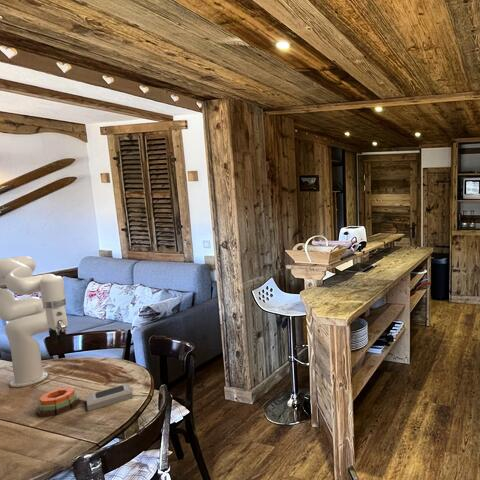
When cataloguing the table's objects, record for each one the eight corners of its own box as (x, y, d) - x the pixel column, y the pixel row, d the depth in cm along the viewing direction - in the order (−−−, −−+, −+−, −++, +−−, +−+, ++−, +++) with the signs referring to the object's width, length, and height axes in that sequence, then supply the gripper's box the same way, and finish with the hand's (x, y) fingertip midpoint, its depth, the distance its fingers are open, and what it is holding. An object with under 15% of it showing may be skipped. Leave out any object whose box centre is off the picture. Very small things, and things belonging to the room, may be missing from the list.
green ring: (35, 404, 148) (35, 400, 148) (70, 392, 158) (70, 388, 157) (44, 413, 142) (43, 409, 142) (80, 400, 152) (79, 396, 152)
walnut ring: (34, 410, 148) (33, 405, 148) (72, 396, 158) (71, 391, 158) (43, 419, 142) (43, 414, 142) (82, 404, 152) (82, 400, 152)
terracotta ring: (37, 400, 148) (36, 395, 148) (69, 389, 157) (68, 385, 156) (45, 408, 143) (44, 403, 142) (77, 396, 151) (77, 392, 151)
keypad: (85, 393, 154) (128, 381, 165) (86, 401, 155) (129, 389, 165) (86, 403, 147) (131, 390, 158) (87, 411, 148) (132, 397, 158)
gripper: (72, 305, 157) (76, 341, 159) (58, 298, 166) (62, 333, 168) (49, 309, 151) (53, 347, 153) (36, 302, 159) (40, 338, 162)
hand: (58, 339), depth 160 cm, fingers open, 9 cm apart
